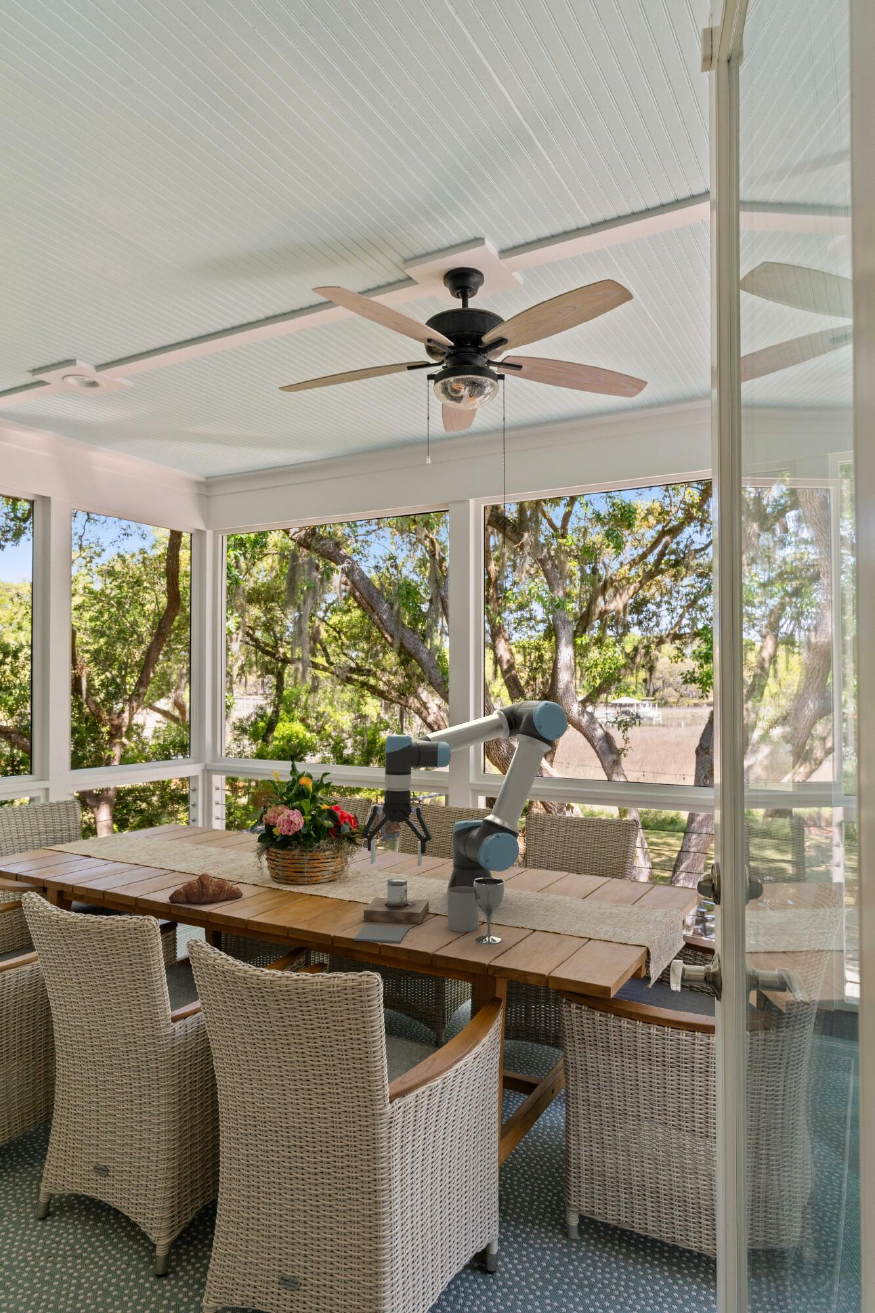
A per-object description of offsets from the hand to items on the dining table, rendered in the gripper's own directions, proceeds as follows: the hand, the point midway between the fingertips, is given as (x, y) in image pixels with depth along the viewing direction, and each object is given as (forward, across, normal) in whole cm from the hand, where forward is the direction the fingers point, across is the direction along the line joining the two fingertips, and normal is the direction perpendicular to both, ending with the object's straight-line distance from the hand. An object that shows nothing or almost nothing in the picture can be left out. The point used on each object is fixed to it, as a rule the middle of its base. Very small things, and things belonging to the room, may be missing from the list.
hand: (396, 864), depth 236 cm
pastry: (+16, +60, -8) cm, 63 cm away
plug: (+14, 0, 0) cm, 15 cm away
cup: (+15, -20, +8) cm, 26 cm away
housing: (+14, 0, 0) cm, 15 cm away
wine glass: (+14, -28, +18) cm, 37 cm away
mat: (+15, 0, +19) cm, 24 cm away
